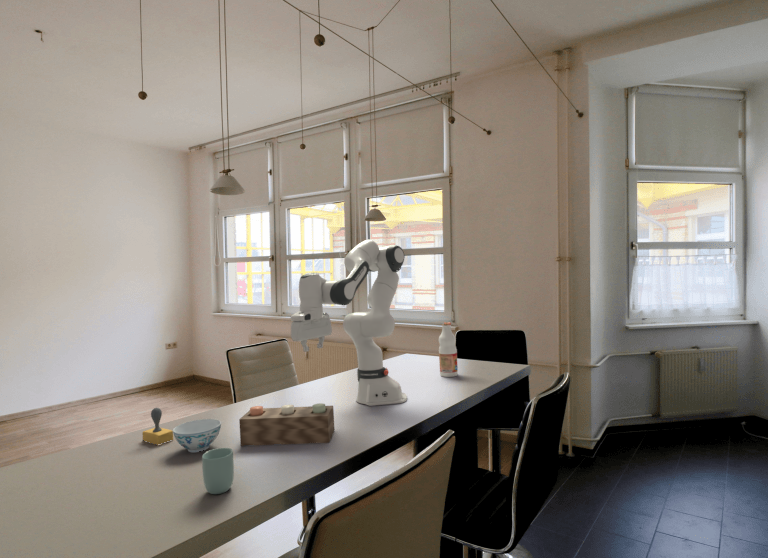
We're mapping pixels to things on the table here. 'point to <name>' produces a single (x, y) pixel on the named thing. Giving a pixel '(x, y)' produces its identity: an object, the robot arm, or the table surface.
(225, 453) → the cup
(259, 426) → the console
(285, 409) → the cream button
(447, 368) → the fruit juice
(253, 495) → the table surface
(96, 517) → the table surface
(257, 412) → the terracotta button
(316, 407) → the sage button
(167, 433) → the rubber stamp
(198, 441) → the chinaware
